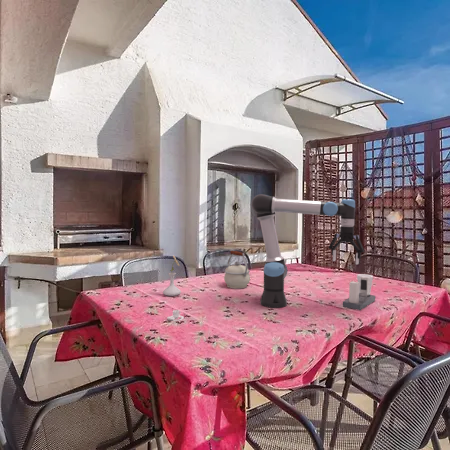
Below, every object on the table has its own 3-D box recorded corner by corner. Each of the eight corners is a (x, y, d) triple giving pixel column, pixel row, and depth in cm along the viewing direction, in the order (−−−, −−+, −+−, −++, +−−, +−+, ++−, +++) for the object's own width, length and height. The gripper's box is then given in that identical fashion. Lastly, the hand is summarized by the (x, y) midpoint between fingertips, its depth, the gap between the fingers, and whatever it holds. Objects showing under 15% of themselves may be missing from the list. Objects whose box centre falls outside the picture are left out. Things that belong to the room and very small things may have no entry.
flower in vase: (177, 297, 207) (177, 257, 206) (160, 296, 209) (159, 256, 208) (184, 292, 220) (184, 254, 219) (167, 291, 222) (167, 254, 221)
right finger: (356, 306, 187) (356, 283, 187) (349, 305, 190) (349, 282, 189) (359, 304, 191) (359, 282, 190) (352, 303, 194) (352, 281, 193)
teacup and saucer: (168, 322, 163) (168, 314, 163) (164, 317, 170) (164, 309, 170) (185, 320, 167) (185, 312, 166) (181, 315, 174) (181, 307, 174)
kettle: (256, 287, 235) (257, 252, 233) (235, 291, 224) (236, 254, 223) (235, 281, 255) (236, 248, 254) (215, 284, 245) (215, 250, 244)
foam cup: (360, 292, 222) (360, 273, 221) (374, 295, 216) (375, 275, 215) (354, 295, 215) (354, 275, 215) (368, 298, 209) (369, 277, 208)
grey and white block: (342, 306, 190) (343, 282, 190) (358, 297, 210) (359, 275, 209) (360, 310, 184) (361, 285, 183) (375, 300, 204) (375, 277, 203)
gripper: (324, 225, 199) (322, 260, 201) (366, 227, 183) (364, 266, 184) (329, 224, 205) (327, 259, 206) (371, 227, 188) (369, 264, 189)
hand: (345, 262), depth 195 cm, fingers open, 13 cm apart
